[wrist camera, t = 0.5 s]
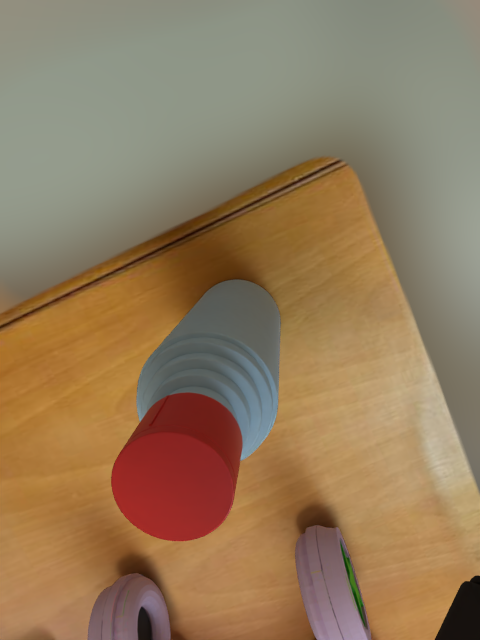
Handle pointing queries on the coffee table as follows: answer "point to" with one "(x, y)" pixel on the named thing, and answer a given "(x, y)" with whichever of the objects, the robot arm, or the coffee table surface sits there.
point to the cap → (179, 468)
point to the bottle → (222, 358)
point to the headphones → (314, 579)
